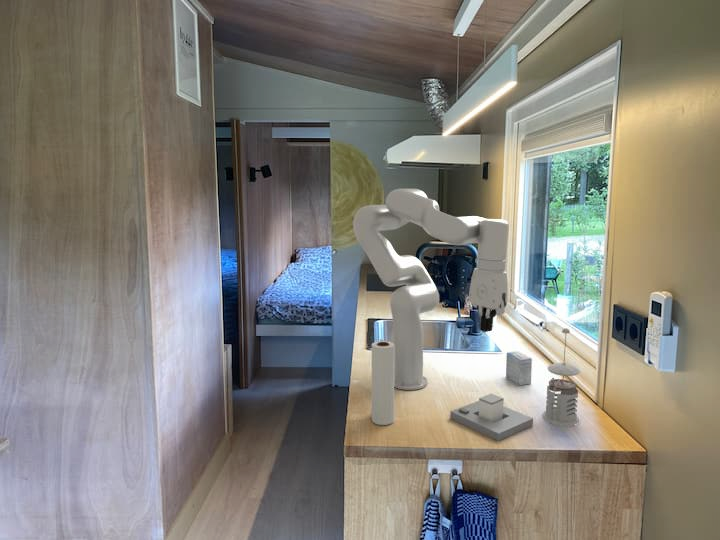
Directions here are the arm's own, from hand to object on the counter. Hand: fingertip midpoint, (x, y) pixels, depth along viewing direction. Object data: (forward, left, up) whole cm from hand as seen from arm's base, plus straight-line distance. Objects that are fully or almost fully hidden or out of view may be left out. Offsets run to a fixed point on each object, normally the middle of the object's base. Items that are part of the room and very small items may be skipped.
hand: (485, 330), depth 139 cm
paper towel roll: (-11, -27, -23) cm, 37 cm away
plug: (+7, -5, -22) cm, 24 cm away
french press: (+17, +11, -23) cm, 30 cm away
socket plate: (+7, -5, -23) cm, 24 cm away
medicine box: (-7, +26, -23) cm, 35 cm away
